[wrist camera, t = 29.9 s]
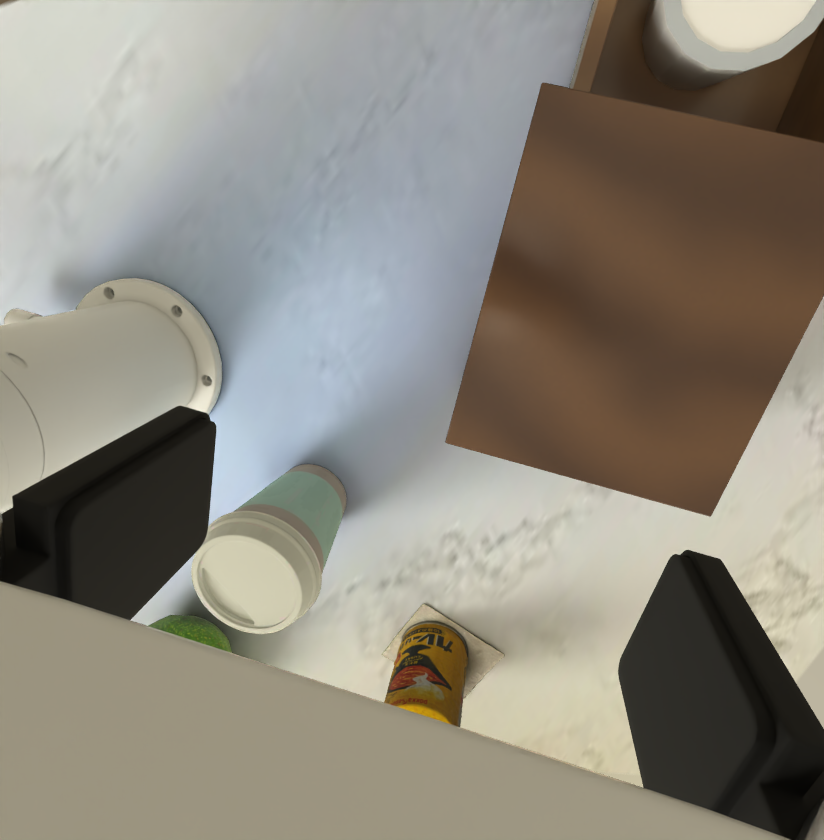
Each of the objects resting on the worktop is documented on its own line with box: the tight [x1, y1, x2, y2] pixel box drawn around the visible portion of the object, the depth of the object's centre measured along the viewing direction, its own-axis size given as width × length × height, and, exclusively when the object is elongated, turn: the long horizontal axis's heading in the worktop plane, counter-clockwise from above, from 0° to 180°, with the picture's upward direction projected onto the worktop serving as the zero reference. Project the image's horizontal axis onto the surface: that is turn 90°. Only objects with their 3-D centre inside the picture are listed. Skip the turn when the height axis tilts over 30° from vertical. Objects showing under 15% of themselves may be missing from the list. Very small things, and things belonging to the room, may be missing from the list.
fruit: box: [149, 615, 232, 653], centre depth 49 cm, size 15×10×10 cm, turn 147°
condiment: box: [382, 604, 504, 727], centre depth 42 cm, size 7×8×12 cm
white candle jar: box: [642, 0, 824, 91], centre depth 25 cm, size 7×7×7 cm
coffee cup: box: [191, 464, 347, 634], centre depth 39 cm, size 8×8×12 cm
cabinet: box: [445, 83, 824, 516], centre depth 31 cm, size 18×15×10 cm
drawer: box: [569, 0, 824, 142], centre depth 25 cm, size 22×14×8 cm, turn 167°
